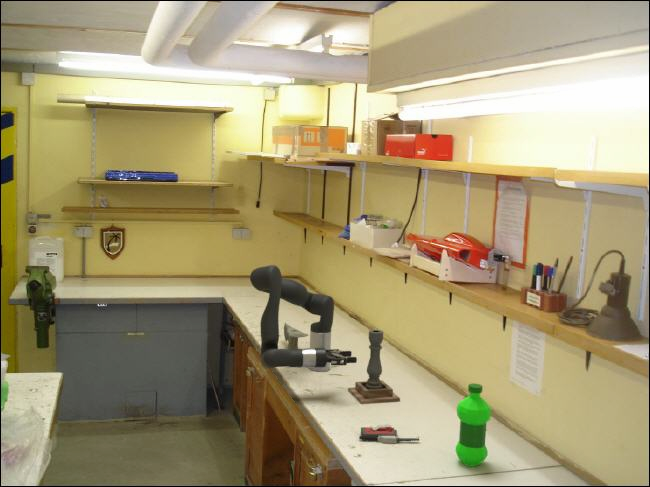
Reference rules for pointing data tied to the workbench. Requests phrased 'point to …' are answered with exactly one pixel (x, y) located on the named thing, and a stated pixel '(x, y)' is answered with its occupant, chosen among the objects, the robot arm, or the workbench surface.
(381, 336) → the candle holder
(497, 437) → the workbench surface
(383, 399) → the walnut socket base
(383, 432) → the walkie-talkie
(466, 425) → the plastic bottle
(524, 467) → the workbench surface
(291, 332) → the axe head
